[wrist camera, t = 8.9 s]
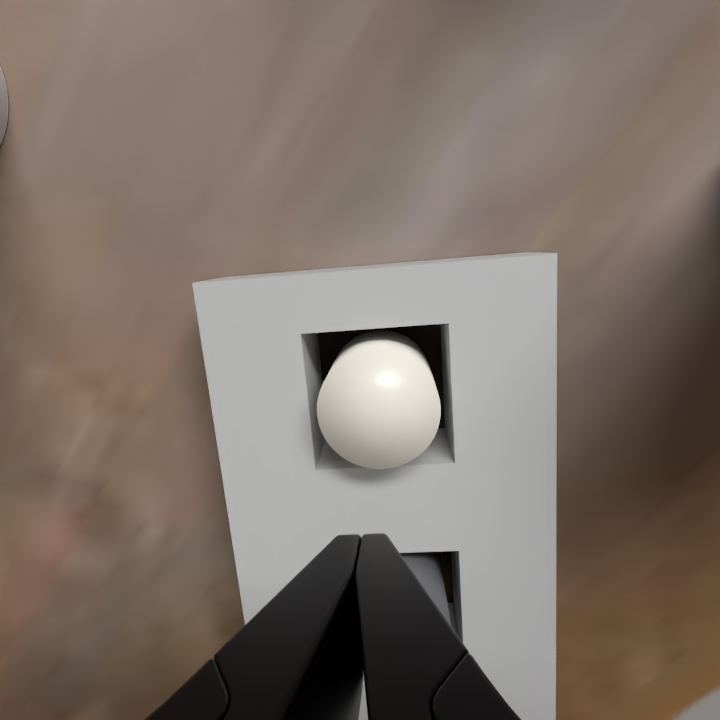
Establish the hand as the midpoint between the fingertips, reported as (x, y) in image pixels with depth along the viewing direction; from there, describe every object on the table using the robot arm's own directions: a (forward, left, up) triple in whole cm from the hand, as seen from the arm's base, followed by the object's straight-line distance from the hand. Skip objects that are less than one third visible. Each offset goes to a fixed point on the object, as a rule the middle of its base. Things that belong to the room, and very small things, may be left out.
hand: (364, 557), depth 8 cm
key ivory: (0, 0, -12) cm, 12 cm away
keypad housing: (0, +8, -12) cm, 15 cm away
